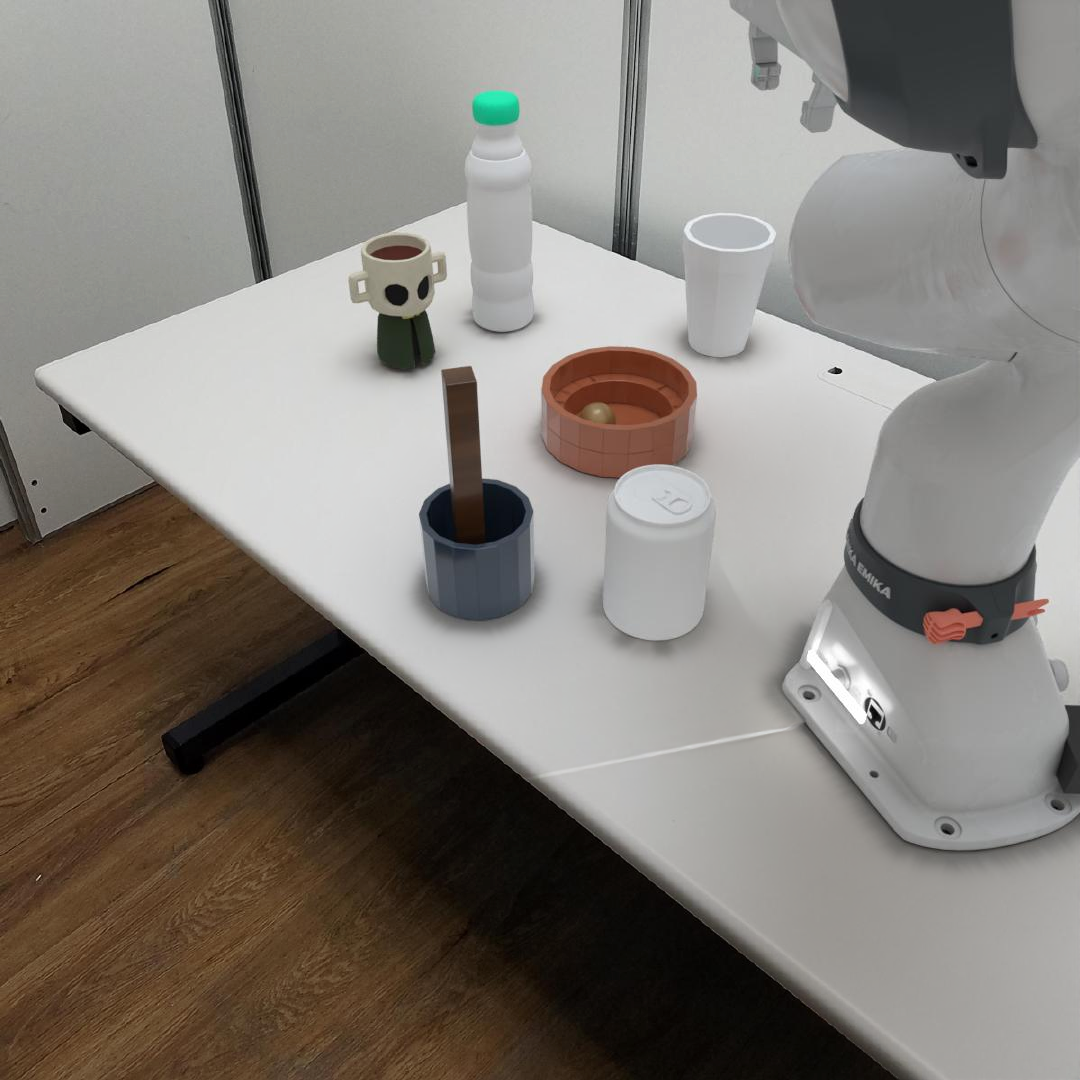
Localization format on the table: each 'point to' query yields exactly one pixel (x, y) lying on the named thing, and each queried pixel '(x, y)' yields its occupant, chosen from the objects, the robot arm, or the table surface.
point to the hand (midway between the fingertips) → (788, 107)
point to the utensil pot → (479, 554)
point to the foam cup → (724, 279)
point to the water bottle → (499, 216)
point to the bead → (598, 413)
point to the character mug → (400, 294)
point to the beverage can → (657, 551)
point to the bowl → (618, 410)
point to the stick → (464, 454)
